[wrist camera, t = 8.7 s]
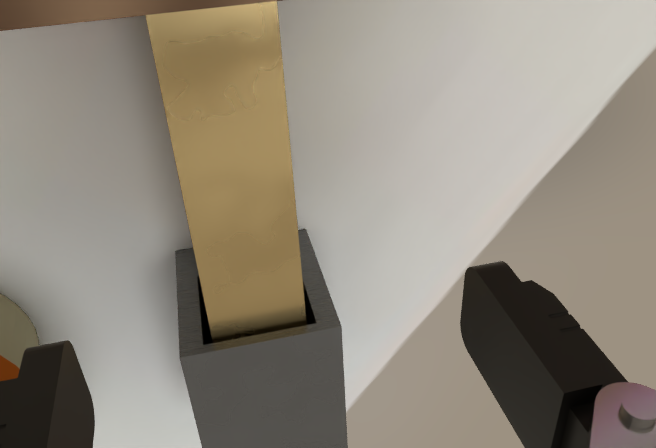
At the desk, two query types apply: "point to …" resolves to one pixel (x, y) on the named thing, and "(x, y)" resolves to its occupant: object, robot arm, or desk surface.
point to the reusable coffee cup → (14, 338)
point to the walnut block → (95, 10)
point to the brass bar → (233, 162)
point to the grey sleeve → (265, 370)
